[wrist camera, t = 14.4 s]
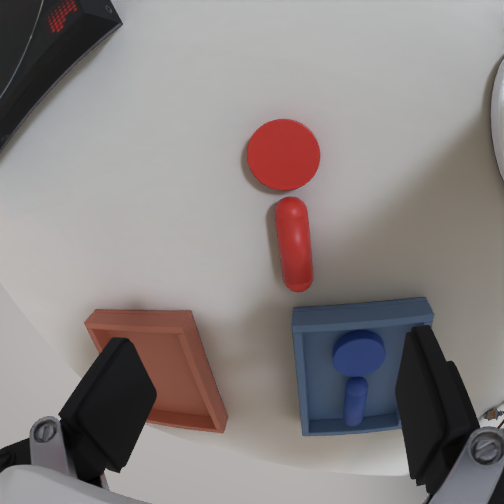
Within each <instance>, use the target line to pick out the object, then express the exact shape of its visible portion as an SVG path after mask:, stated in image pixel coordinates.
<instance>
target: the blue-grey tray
mask: <svg viewBox="0 0 504 504" xmlns="http://www.w3.org/2000/svg"><path fill="white" fill-rule="evenodd" d="M433 317H434V313H433V311H432V309H431V307H430V305H429V303H428V301H427V299H426V297H421V298H412V299H402V300H392V301H381V302H370V303H357V304H344V305H330V306H314V307H296V308H293V317H292V332H293V333H292V334H293V343H294V353H295V362H296V372H297V383H298V393H299V404H300V415H301V426H302V436H327V435H345V434H358V433H369V432H379V431H387V430H395V429H402V425H401V420H400V415H399V411H398V406H397V401H396V396H395V387H396V382H397V378H398V373H399V368H400V363H401V358H402V353H403V347H404V341H405V335H406V333H407V332H411V329H412V327H415V326H422V325H430V327H431V326H432V321H433ZM357 330H367V331H371V332H374V333H376V334H377V335H379V336H380V337H381V339H382V340H383V343H384V347H385V352H386V356H385V360H384V362H383V364H382V365H381V366H380V367H379V368H378V369H377V370H376V371H374V372H372V373H370V374H368V375H365V376H361V377H363V378H365V379H366V380H367V382H368V393H367V399H366V405H365V411H364V417H363V420H362V421H361V422H360V423H359V424H358V425H355V426H350V425H347V424H346V423H345V422H344V420H343V410H344V397H345V386H346V383H347V381H348V380H349V379H350V378H352V377H351V376H346V375H343V374H341V373H340V372H338V371H337V370H336V369H335V367H334V365H333V358H332V350H333V347H334V345H335V343H336V342H337V340H338V339H339V338H341V337H342V336H343V335H345V334H347V333H349V332H352V331H357Z"/></svg>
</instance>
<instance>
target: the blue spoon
mask: <svg viewBox="0 0 504 504" xmlns="http://www.w3.org/2000/svg"><path fill="white" fill-rule="evenodd" d="M385 356H386V352H385V347H384V343H383V340H382V339H381V337H380V336H379V335H377V334H376V333H374V332H371V331H367V330H357V331H352V332H349V333H347V334H345V335H343V336H342V337H341V338H339V339H338V340H337V342H336V343H335V345H334V347H333V350H332V358H333V365H334V367H335V369H336V370H337V371H338V372H340V373H341V374H343V375H346V376H351V377H352V378H350V379H349V380H348V381H347V383H346V386H345V397H344V410H343V420H344V422H345V423H346V424H347V425H350V426H355V425H358V424H359V423H360V422H361V421H362V420H363V417H364V411H365V405H366V399H367V393H368V382H367V380H366V379H365V378H363V377H361V376H365V375H368V374H370V373H372V372H374V371H376V370H377V369H378V368H379V367H380V366H381V365H382V364H383V362H384V360H385Z"/></svg>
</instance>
